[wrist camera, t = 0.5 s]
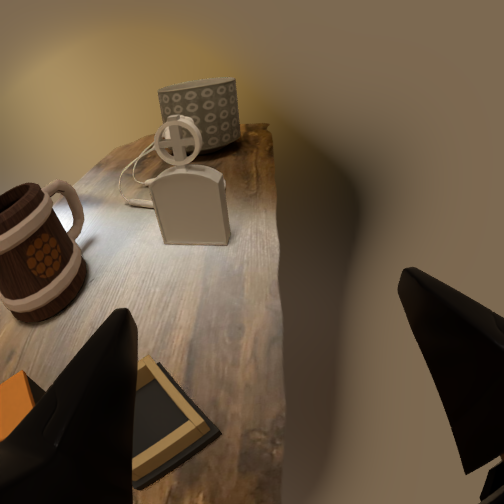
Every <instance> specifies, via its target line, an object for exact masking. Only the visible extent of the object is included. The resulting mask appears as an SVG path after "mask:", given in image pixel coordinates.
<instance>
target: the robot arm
mask: <svg viewBox="0 0 504 504" xmlns="http://www.w3.org/2000/svg"><path fill="white" fill-rule="evenodd" d="M398 294H399V297H400V300H401V302H402V305H403V307H404V310H405V313H406V316H407V319H408V322H409V324H410V327H411V329H412V332H413V334H414V336H415V339H416V341H417V343H418V345H419V347H420V349H421V352H422V354H423V356H424V359H425V361H426V363H427V366H428V368H429V370H430V373H431V375H432V378H433V380H434V383H435V385H436V388H437V390H438V392H439V395H440V398H441V401H442V403H443V406H444V409H445V412H446V414H447V417H448V420H449V423H450V426H451V429H452V432H453V435H454V438H455V442H456V445H457V448H458V451H459V454H460V458H461V461H462V465H463V469H464V472H465V474H466V475H467V474H469V473H471V472H473V471H475V470H476V469H478V468H480V467H482V466H483V465H485V464H487V463H488V462H490V461H492V460H493V459H495V458H497V457H498V456H500V457H501V459H502V461H500V462H499V463H498V464H497V465H495V466H494V467H493V468H491V469H490V470H489V472H488V475H487V479H486V481H485V485H484V487H483V490H482V492H481V495H480V500H481V502H480V503H479V504H504V318H503V317H501V316H499V315H498V314H496V313H495V312H492V311H491V310H490V309H488V308H486V307H484V306H483V305H481V304H480V303H478V302H476V301H474V300H473V299H471V298H469V297H468V296H466V295H464V294H462V293H461V292H459V291H457V290H455V289H454V288H452V287H450V286H448V285H447V284H445V283H443V282H441V281H439V280H438V279H436V278H434V277H432V276H430V275H428V274H427V273H425V272H423V271H421V270H419V269H417V268H415V267H409V268H405V269H403V271H402V274H401V277H400V281H399V284H398ZM137 375H138V329H137V325H136V323H135V321H134V319H133V317H132V315H131V313H130V311H129V309H127V308H119V309H115V310H114V311H113V312H112V313H111V315H110V316H109V317H108V318H107V319H106V320H105V321H104V322H103V324H102V325H101V326H100V327H99V328H98V329H97V331H96V332H95V333H94V334H93V335H92V336H91V338H90V339H89V340H88V341H87V342H86V343H85V345H84V346H83V347H82V348H81V349H80V351H79V352H78V353H77V354H76V355H75V357H74V358H73V359H72V360H71V361H70V363H69V364H68V365H67V366H66V368H65V369H64V370H63V371H62V372H61V374H60V375H59V376H58V377H57V379H56V380H55V381H54V383H53V384H52V385H51V386H50V387H49V389H48V390H47V391H46V393H45V394H44V395H43V396H42V398H41V399H40V400H39V401H38V403H37V404H36V405H35V406H34V407H33V408H32V409H31V411H30V412H29V413H28V414H27V415H26V416H25V417H24V418H23V420H22V421H21V422H20V423H19V424H18V425H17V426H16V427H15V428H14V430H13V431H12V432H11V433H10V434H9V435H8V436H7V437H6V438H5V439H4V440H3V441H1V442H0V504H133V495H132V453H133V428H134V412H135V398H136V387H137Z"/></svg>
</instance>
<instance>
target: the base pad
mask: <svg viewBox="0 0 504 504" xmlns="http://www.w3.org/2000/svg"><path fill="white" fill-rule="evenodd" d="M220 435H222V433H221V432H220V430H219V429H218V428H217V427H216V426H215V425H214V424H213V423H212V422H211V421H210V420H209V419H208V418H207V417H206V416H205V415H204V413H203V412H202V411H201V410H200V409H199V408H198V407H197V406H196V405H195V404H194V402H193V401H192V400H191V399H190V398H189V397H188V396H187V395H186V393H185V392H184V391H183V390H182V389H181V388H180V386H179V385H178V384H177V383H176V382H175V381H174V379H173V378H172V377H171V376H170V375H169V373H168V372H167V371H166V370H165V368H164V367H163V366H162V365H161V363H160V362H158V363H157V364H156V363H155V362H154V360H153V359H152V358H151V356H150V355H147V356H146V357H144V358H143V359H141V360H140V361H138V375H137V387H136V398H135V412H134V428H133V453H132V486H133V487H134V489H137V490H142V489H144V488H145V487H147V486H149V485H150V484H152V483H153V482H155V481H157V480H158V479H160V478H161V477H163V476H164V475H166V474H167V473H169V472H170V471H172V470H173V469H175V468H176V467H178V466H179V465H181V464H182V463H184V462H185V461H186V460H188V459H189V458H191V457H192V456H194V455H195V454H196V453H198V452H199V451H200V450H202V449H203V448H204V447H206V446H207V445H208V444H210V443H211V442H212V441H214V440H215V439H216V438H218V437H219V436H220Z"/></svg>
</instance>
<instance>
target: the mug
mask: <svg viewBox="0 0 504 504" xmlns="http://www.w3.org/2000/svg"><path fill="white" fill-rule="evenodd" d="M55 193H61V194H62V195H63V196H64V197H65V198H66V200H67V202H68V205H69V207H70V209H71V211H72V215H73V219H74V220H73V226H72V227H71V229H70V230H69V231H68V232H67V233H66V231H65V229H64V228H63V226H62V224H61V223H60V221H59V219H58V217H57V215H56V214H55V212H54V210H53V208H52V206H53V201H52V200H51V198H50V197H51V196H53V195H54V194H55ZM83 223H84V213H83V207H82V205H81V202H80V200H79V198H78V195H77V193H76V191H75V189H74V188H73V187H72V186H71V185H69V184H68V183H67V182H66V181H62V180H58V179H56V180H54V181H52V182H51V183H49V184H47V185H46V186H44V187H43V188H42V189H41V188H40V186H39V185H38V184H35V183H25V184H21V185H19V186H16V187H14V188H12V189H10V190H9V191H7V192H5V193H4V194H2V195H0V298H1V300H2V302H3V304H4V305H5V306H6V307H7V309H9V310H10V311H11V312H12V314H13V315H14V316H15V317H16V318H17V320H20V321H23V322H37V321H43V320H45V319H47V318H50V317H52V316H54V315H55V314H57V313H58V312H60V311H61V310H63V309H64V308H65V307H66V306H67V305H68V304H69V303H70V302H71V301H72V300H73V299H74V298H75V296H76V295H77V293H78V292H79V290H80V288H81V287H82V285H83V282H84V279H85V275H86V272H87V270H86V262H85V261H84V259H83V257H82V256H81V249H80V248H79V246H78V245H77V243H76V242H75V241H74V240H75V239H76V238H77V237H78V236H79V234H80V233H81V230H82V226H83Z"/></svg>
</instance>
